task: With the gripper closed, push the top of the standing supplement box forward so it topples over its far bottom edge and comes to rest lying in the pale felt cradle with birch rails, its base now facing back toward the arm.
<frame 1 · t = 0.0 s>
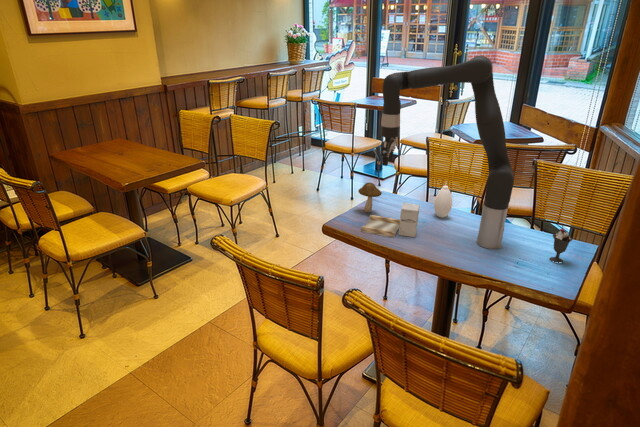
hand: (387, 162, 182), 29 cm above the table, fingers open, 8 cm apart
sauce bottle: (441, 217, 203), on the table
supplement box: (407, 233, 187), on the table
cradle: (381, 228, 191), on the table
sundae: (556, 261, 166), on the table
mushroom: (368, 212, 207), on the table
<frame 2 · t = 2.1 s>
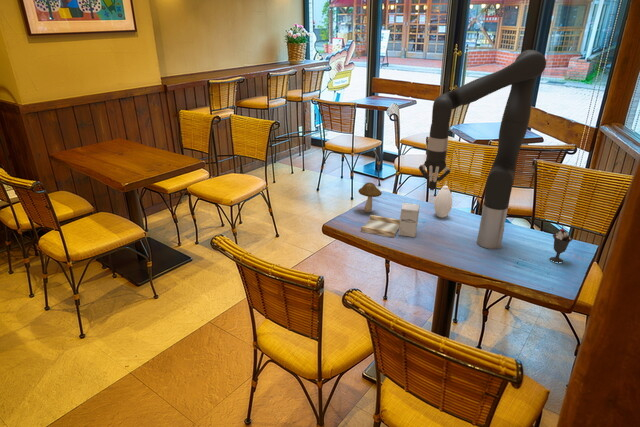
hand: (432, 189, 175), 21 cm above the table, fingers closed
nothing on the table moved.
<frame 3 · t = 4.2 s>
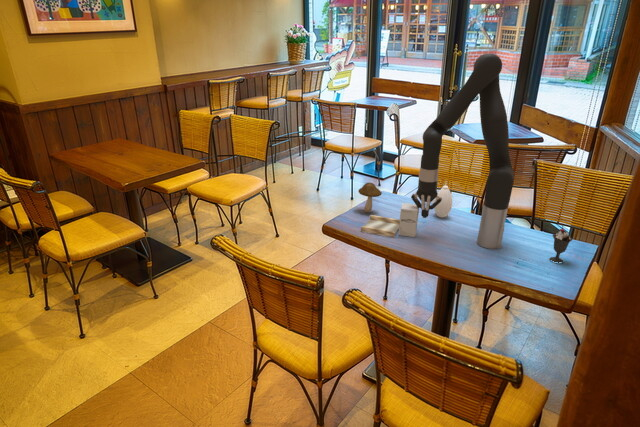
hand: (424, 217, 181), 9 cm above the table, fingers closed
supplement box: (407, 233, 187), on the table, touching gripper
everything else where it was.
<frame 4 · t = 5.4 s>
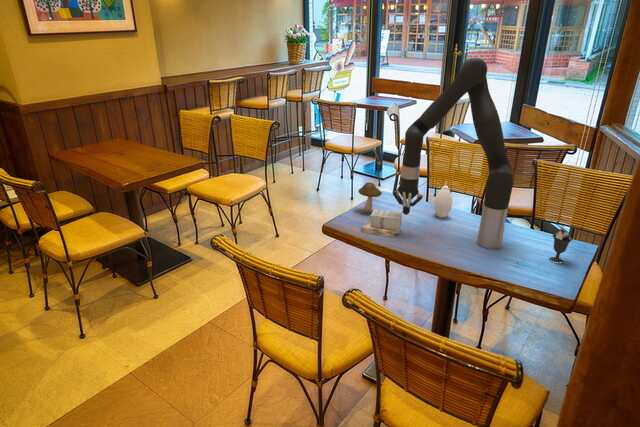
hand: (405, 214, 184), 9 cm above the table, fingers closed
supplement box: (401, 223, 186), point 4 cm above the table, touching cradle
everything else where it was.
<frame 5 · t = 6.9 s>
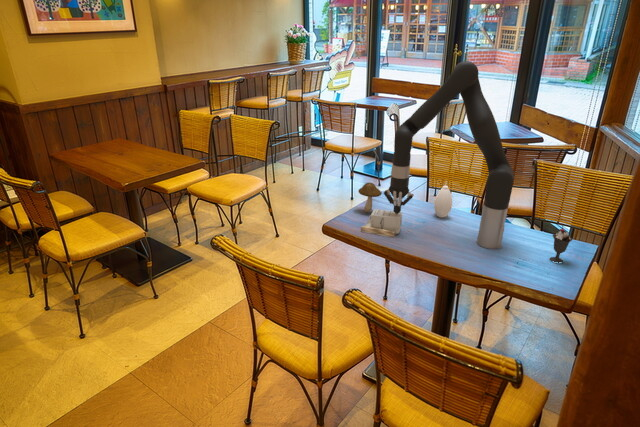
hand: (396, 213, 185), 9 cm above the table, fingers closed
nothing on the table moved.
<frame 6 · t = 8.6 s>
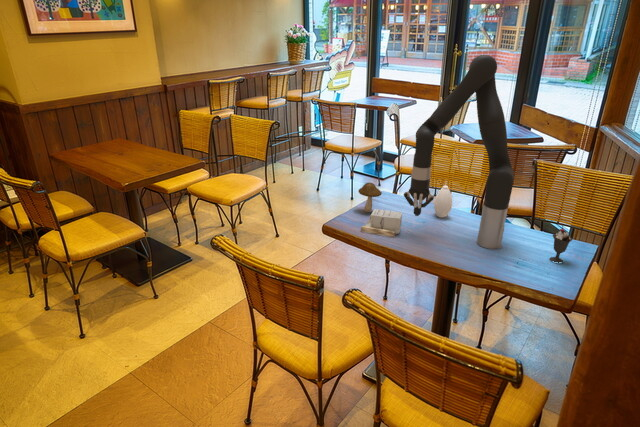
hand: (416, 215, 182), 9 cm above the table, fingers closed
nothing on the table moved.
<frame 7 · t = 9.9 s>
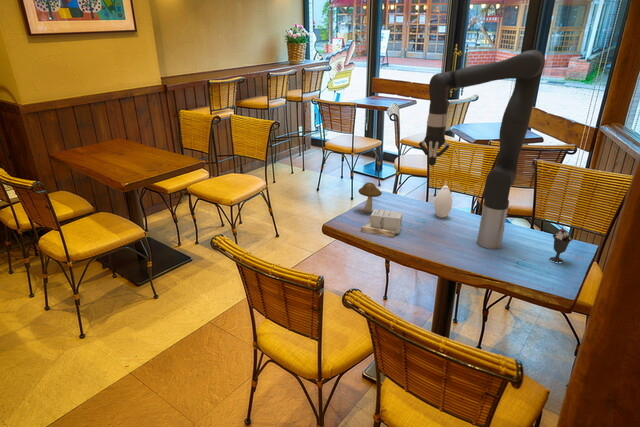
hand: (431, 165, 182), 29 cm above the table, fingers closed
nothing on the table moved.
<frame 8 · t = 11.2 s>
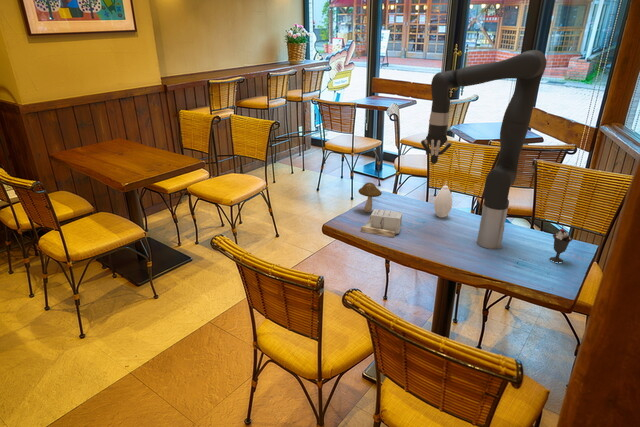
hand: (433, 163, 183), 29 cm above the table, fingers closed
nothing on the table moved.
at the end: supplement box tilted 90°; supplement box inside the target area (4.3 cm from its centre), point 4.3 cm above the table; supplement box moved 5.4 cm from its start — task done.
